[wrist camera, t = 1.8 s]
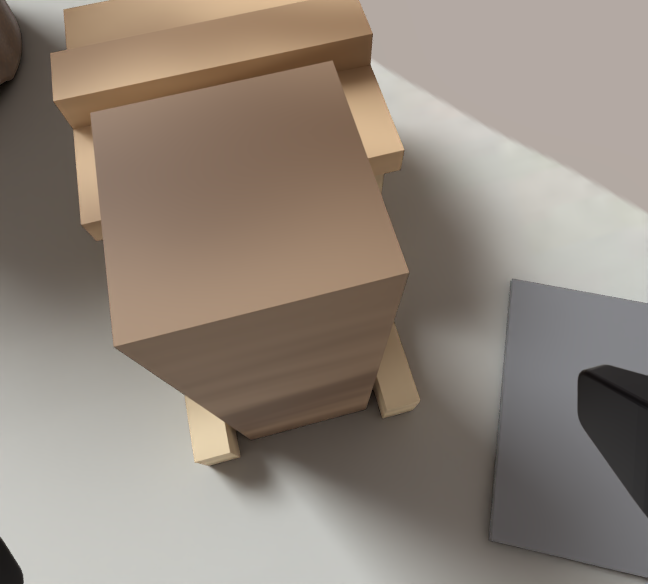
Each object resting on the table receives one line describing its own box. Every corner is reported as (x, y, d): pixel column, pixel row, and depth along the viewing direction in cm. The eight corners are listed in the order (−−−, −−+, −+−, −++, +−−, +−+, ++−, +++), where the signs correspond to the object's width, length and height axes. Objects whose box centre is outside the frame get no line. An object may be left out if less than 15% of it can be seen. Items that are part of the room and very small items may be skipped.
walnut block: (365, 409, 19) (409, 272, 8) (251, 440, 19) (114, 346, 7) (335, 303, 21) (332, 60, 9) (229, 330, 20) (89, 112, 9)
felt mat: (734, 598, 16) (740, 599, 16) (488, 540, 17) (491, 540, 17) (711, 318, 20) (716, 316, 20) (510, 281, 21) (512, 278, 21)
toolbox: (436, 403, 19) (501, 341, 12) (183, 472, 18) (75, 454, 11) (329, 96, 25) (326, -77, 18) (136, 139, 24) (45, -23, 17)
